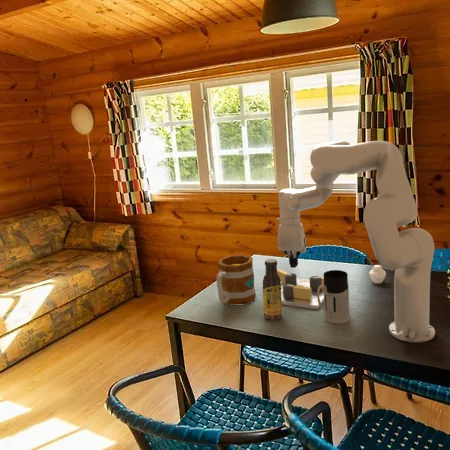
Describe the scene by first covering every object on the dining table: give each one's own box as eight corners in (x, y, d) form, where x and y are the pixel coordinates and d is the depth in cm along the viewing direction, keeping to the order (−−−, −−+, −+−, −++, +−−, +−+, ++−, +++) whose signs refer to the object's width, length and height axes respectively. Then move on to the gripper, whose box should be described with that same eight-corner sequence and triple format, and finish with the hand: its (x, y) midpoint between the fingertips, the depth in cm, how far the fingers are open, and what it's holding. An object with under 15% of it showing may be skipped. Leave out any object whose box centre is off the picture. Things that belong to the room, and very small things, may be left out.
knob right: (310, 290, 167) (310, 279, 166) (309, 286, 171) (308, 275, 170) (339, 289, 166) (339, 278, 165) (337, 284, 170) (336, 273, 169)
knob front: (281, 297, 163) (280, 286, 162) (286, 293, 167) (285, 282, 166) (308, 301, 158) (308, 290, 157) (313, 296, 162) (312, 285, 161)
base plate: (317, 309, 155) (317, 299, 154) (264, 301, 165) (264, 292, 164) (337, 286, 173) (336, 277, 172) (288, 280, 183) (288, 272, 182)
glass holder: (356, 315, 148) (354, 272, 144) (331, 332, 139) (329, 286, 135) (333, 309, 154) (331, 267, 151) (307, 324, 145) (305, 280, 141)
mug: (232, 289, 180) (228, 253, 176) (262, 293, 173) (259, 256, 169) (205, 309, 164) (201, 270, 160) (237, 314, 157) (234, 274, 153)
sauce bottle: (267, 322, 149) (263, 265, 144) (261, 314, 155) (256, 259, 150) (286, 318, 151) (282, 261, 146) (278, 311, 157) (275, 256, 152)
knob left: (299, 285, 173) (298, 274, 172) (289, 288, 171) (288, 277, 170) (283, 278, 182) (283, 267, 181) (274, 280, 180) (273, 270, 179)
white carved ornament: (387, 284, 170) (387, 267, 169) (370, 285, 171) (370, 267, 170) (384, 278, 176) (384, 261, 175) (368, 279, 177) (367, 262, 176)
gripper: (268, 222, 174) (272, 268, 177) (305, 223, 166) (308, 271, 170) (276, 218, 180) (280, 262, 184) (312, 219, 172) (315, 265, 176)
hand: (293, 266), depth 177 cm, fingers closed
